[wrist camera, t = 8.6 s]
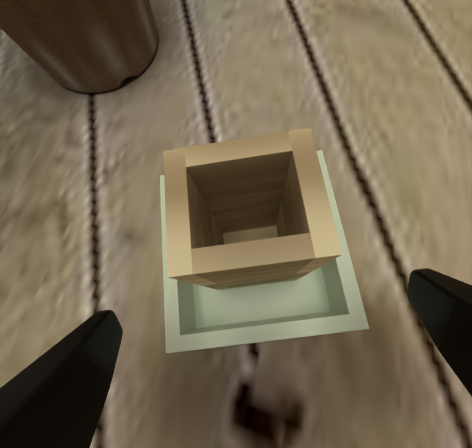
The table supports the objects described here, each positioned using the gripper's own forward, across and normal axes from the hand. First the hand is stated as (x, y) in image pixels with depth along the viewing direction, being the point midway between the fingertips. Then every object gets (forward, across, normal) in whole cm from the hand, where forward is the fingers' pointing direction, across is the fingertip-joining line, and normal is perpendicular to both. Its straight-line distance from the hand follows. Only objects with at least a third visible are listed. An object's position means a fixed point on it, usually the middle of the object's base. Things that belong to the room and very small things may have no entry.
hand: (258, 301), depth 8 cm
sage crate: (+10, 0, +5) cm, 11 cm away
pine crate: (+9, 0, +4) cm, 10 cm away
